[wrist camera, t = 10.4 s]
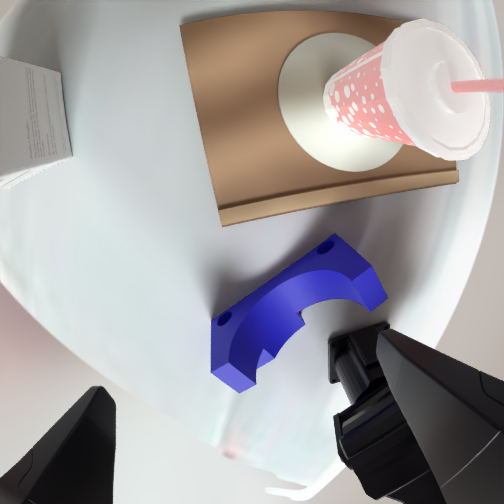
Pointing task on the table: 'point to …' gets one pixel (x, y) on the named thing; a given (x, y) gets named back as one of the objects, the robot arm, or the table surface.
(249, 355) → the cable clip
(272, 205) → the board
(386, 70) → the beverage cup
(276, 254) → the table surface
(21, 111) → the supplement box
